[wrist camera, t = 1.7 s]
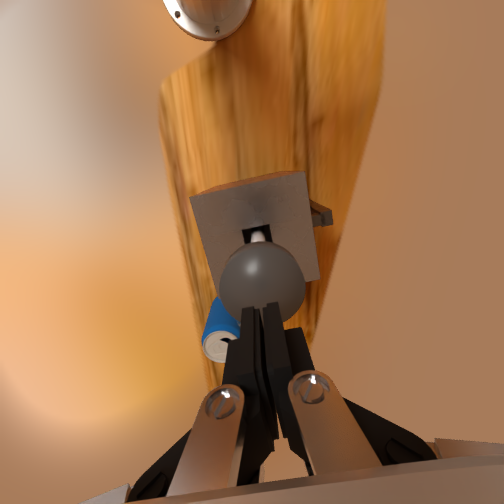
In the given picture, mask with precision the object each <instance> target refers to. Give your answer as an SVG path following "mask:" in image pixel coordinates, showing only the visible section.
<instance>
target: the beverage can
mask: <svg viewBox="0 0 504 504" xmlns="http://www.w3.org/2000/svg"><path fill="white" fill-rule="evenodd" d="M240 325H241V322H239V321H238V320H236V319H235V318H233V317H232V316H231V315H230V314H229V313H228V312H227V310H226V309H225V308H224V306H223V304H222V301H221V299H219V298H218V297H216V298H215V299H214V301H213V303H212V306H211V309H210V313H209V316H208V319H207V323H206V326H205V329H204V332H203V336H202V346H203V351H204V353H205V355H206V356H207V357H208V358H209V359H211V360H213V361H215V362H219V363H225V360H226V354H227V347H228V342H229V340H233V339H238V338H239V337H240Z"/></svg>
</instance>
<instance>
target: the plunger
mask: <svg viewBox="0 0 504 504" xmlns="http://www.w3.org/2000/svg"><path fill="white" fill-rule="evenodd" d="M242 231H243V235H244V239H245V244H246V245H243V246H241V247H240V248H238V249H237V250H236V251H234V252H233V253H232V254H231V255H230V257H229V258H228V260H227V261H226V263H225V266H224V268H223V272H222V275H221V279H220V283H219V294H220V299H221V301H222V304H223V306H224V308H225V309H226V310H227V312H228V313H229V314H230V315H231V316H232V317H233V318H235V319H236V320H238V321H239V322H241V313H242V308H246V307H251V306H254V308H255V309H258V308H259V310H260V314H261V318H262V323H263V309H262V308H263V307H267V303H272V302H277V301H278V303H279V308H280V313H281V318H282V323H283V322H285V321H286V320H288V319H289V318H291V317H292V316H293V315H294V314H295V313H296V312H297V311H298V309H299V308H300V306H301V304H302V302H303V300H304V296H305V289H306V286H305V279H304V276H303V273H302V271H301V269H300V267H299V265H298V263H297V261H296V259H295V258H294V256H293V255H292V254H291V253H290V252H289V251H288V250H287V249H285V248H284V247H282V246H280V245H278V244H275V243H273V241H272V236H271V231H270V226H269V224H266V225H262V226H257V227H252V228H248V229H243V230H242ZM263 327H264V323H263Z"/></svg>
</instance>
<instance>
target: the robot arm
mask: <svg viewBox="0 0 504 504" xmlns="http://www.w3.org/2000/svg"><path fill="white" fill-rule="evenodd" d="M252 1H253V0H163V2H164V4H165V7H166V9H167V11H168V12H169V14H170V16H171V17H172V19H173V21H174V22H175V23H176V24H177V25H178V26H179V28H180V29H182V30H183V31H184V32H185V33H187V34H188V35H190V36H192V37H194V38H196V39H200V40H203V41H216V40H221V39H223V38H226V37H228V36H230V35H231V34H232V33H234V32H235V31H236V30H237V29H238V28H239V27H240V26H241V25H242V24H243V22H244V20H245V19H246V17H247V15H248V13H249V10H250V8H251V5H252ZM178 17H180V18H179V19H178ZM217 31H219V33H218V34H216V32H217ZM262 309H263V323H264V327H263V323H262V318H261V314H260V310H259V308H258V309H255V308H254V306H251V307H246V308H242V313H241V325H240V337H239V338H238V339H233V340H229V342H228V347H227V354H226V360H225V367H224V374H223V381H222V385H221V386H218V387H216V388H214V389H213V390H212V391H210V392H209V393H208V394H207V395H206V396H205V398H204V400H203V401H202V403H201V406H200V409H199V411H198V414H197V416H196V419H195V422H194V424H193V427H192V428H191V429H190V430H189V431H188V432H187V433H186V434H185V435H184V436H183V437H182V438H181V439H180V440H179V441H177V442H176V443H175V444H174V445H173V446H172V447H171V448H170V449H169V450H168V451H167V452H166V453H165V454H164V455H163V456H162V457H161V458H159V459H158V460H157V461H156V462H155V463H154V464H153V465H152V466H151V467H150V468H149V469H148V470H147V471H146V472H145V473H144V474H143V475H142V476H141V477H140V478H139V479H138V481H136V483H135V485H134V486H132V487H130V485H129V484H128V483H127V484H125V485H123V486H120V487H118V488H115V489H113V490H110V491H108V492H105V493H103V494H101V495H98V496H96V497H93V498H91V499H88V500H86V501H83V502H81V503H79V504H504V444H499V443H488V442H476V441H464V440H451V439H440V438H435V443H433V442H424V441H423V440H422V439H421V438H419V437H418V436H416V435H415V434H413V433H411V432H409V431H407V430H406V429H404V428H402V427H400V426H398V425H396V424H394V423H392V422H390V421H388V420H386V419H384V418H382V417H380V416H378V415H376V414H374V413H372V412H371V411H368V410H367V409H365V408H363V407H361V406H359V405H357V404H355V403H353V402H351V401H349V400H347V399H345V398H343V397H342V396H341V395H340V393H339V391H338V389H337V388H336V386H335V384H334V383H333V381H332V380H331V379H330V378H329V377H328V376H327V375H326V374H324V373H322V372H319V371H315V369H314V365H313V362H312V360H311V356H310V353H309V349H308V346H307V343H306V340H305V337H304V334H303V330H302V328H301V327H298V328H293V329H287V330H284V327H283V323H282V318H281V313H280V308H279V303H278V301H277V302H272V303H267V307H263V308H262ZM276 410H277V412H276ZM277 414H278V418H279V422H280V426H281V430H282V434H283V438H288V442H289V446H290V449H291V450H292V451H293V452H294V453H295V454H297V455H298V456H299V457H300V458H302V459H303V461H304V465H305V469H306V472H307V475H308V476H307V477H301V478H293V479H286V480H279V481H272V482H265V483H264V472H265V470H264V461H265V459H266V458H267V457H268V455H269V454H270V453H271V452H273V451H275V450H274V440H275V439H279V432H278V423H277Z"/></svg>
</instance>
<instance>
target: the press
mask: <svg viewBox="0 0 504 504" xmlns="http://www.w3.org/2000/svg"><path fill="white" fill-rule="evenodd" d="M189 198H190V202H191V205H192V209H193V212H194V216H195V219H196V223H197V226H198V229H199V233H200V236H201V240H202V243H203V247H204V250H205V254H206V257H207V260H208V264H209V267H210V271H211V274H212V278H213V281H214V285H215V288H216V291H217V295H218V298H219V299H220V294H219V283H220V279H221V275H222V272H223V268H224V266H225V263H226V261H227V260H228V258H229V257H230V255H231V254H232V253H233V252H234V251H236V250H237V249H238V248H240V247H241V246H243V245H246V244H245V239H244V235H243V231H242V230H243V229H248V228H252V227H257V226H262V225H266V224H269V226H270V231H271V236H272V241H273V243H275V244H278V245H280V246H282V247H284V248H285V249H287V250H288V251H289V252H290V253H291V254H292V255H293V256H294V258H295V259H296V261H297V263H298V265H299V267H300V269H301V271H302V273H303V276H304V279H305V282H308V281H314V280H319V279H320V273H319V266H318V259H317V252H316V245H315V238H314V231H313V227H315V226H320V225H321V226H322V227H324V226H328V225H333V219H332V210H330V209H328V208H326V207H324V206H322V205H320V204H318V203H316V202H314V201H312V200H310V199H309V197H308V190H307V183H306V176H305V171H280V172H276V173H271V174H267V175H263V176H258V177H254V178H249V179H245V180H241V181H236V182H232V183H227V184H223V185H219V186H215V187H213V188H211V189H208V190H206V191H203V192H201V193H198V194H196V195H194V196H191V197H189Z"/></svg>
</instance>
